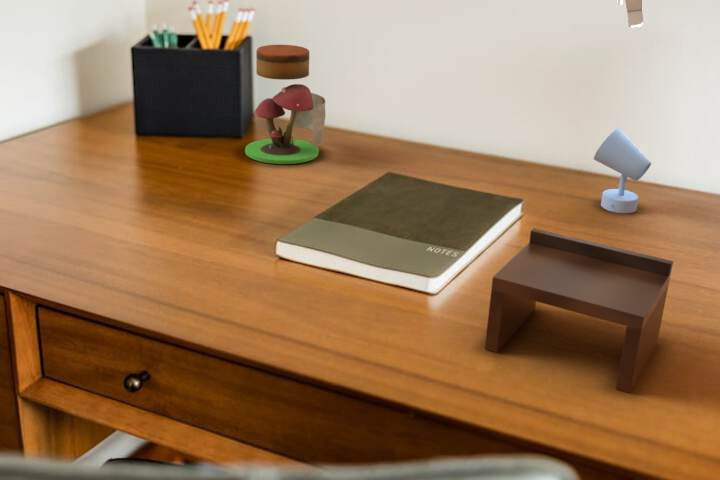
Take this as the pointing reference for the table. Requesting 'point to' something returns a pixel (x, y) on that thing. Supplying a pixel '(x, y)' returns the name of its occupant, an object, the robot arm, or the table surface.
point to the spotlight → (621, 170)
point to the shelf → (583, 292)
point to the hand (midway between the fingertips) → (635, 34)
